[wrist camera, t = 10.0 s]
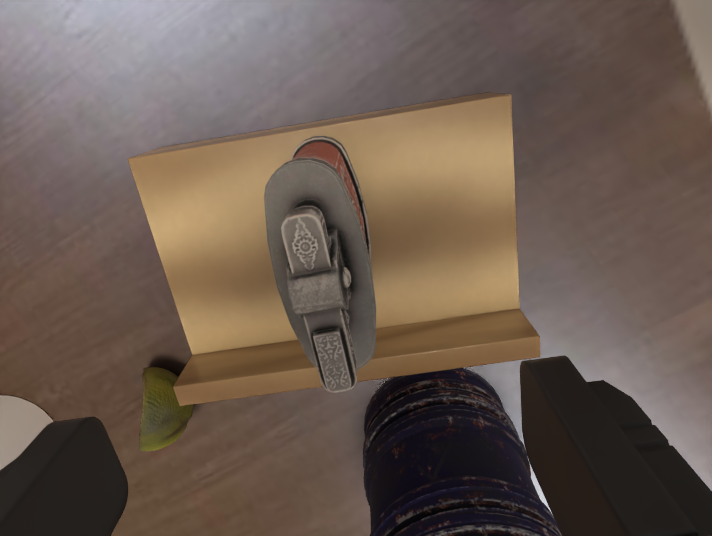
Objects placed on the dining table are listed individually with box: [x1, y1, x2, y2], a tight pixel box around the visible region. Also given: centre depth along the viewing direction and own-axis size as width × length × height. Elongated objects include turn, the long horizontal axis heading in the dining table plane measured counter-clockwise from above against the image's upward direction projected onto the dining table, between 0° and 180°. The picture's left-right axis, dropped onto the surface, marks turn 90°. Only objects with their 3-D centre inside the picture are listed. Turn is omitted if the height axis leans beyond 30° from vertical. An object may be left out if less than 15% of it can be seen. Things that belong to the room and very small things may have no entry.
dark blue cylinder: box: [363, 368, 562, 536], centre depth 26 cm, size 10×10×15 cm
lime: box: [139, 367, 193, 451], centre depth 29 cm, size 4×5×5 cm
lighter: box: [264, 136, 376, 393], centre depth 19 cm, size 8×3×10 cm, turn 11°
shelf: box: [128, 92, 540, 406], centre depth 25 cm, size 12×18×7 cm, turn 99°
